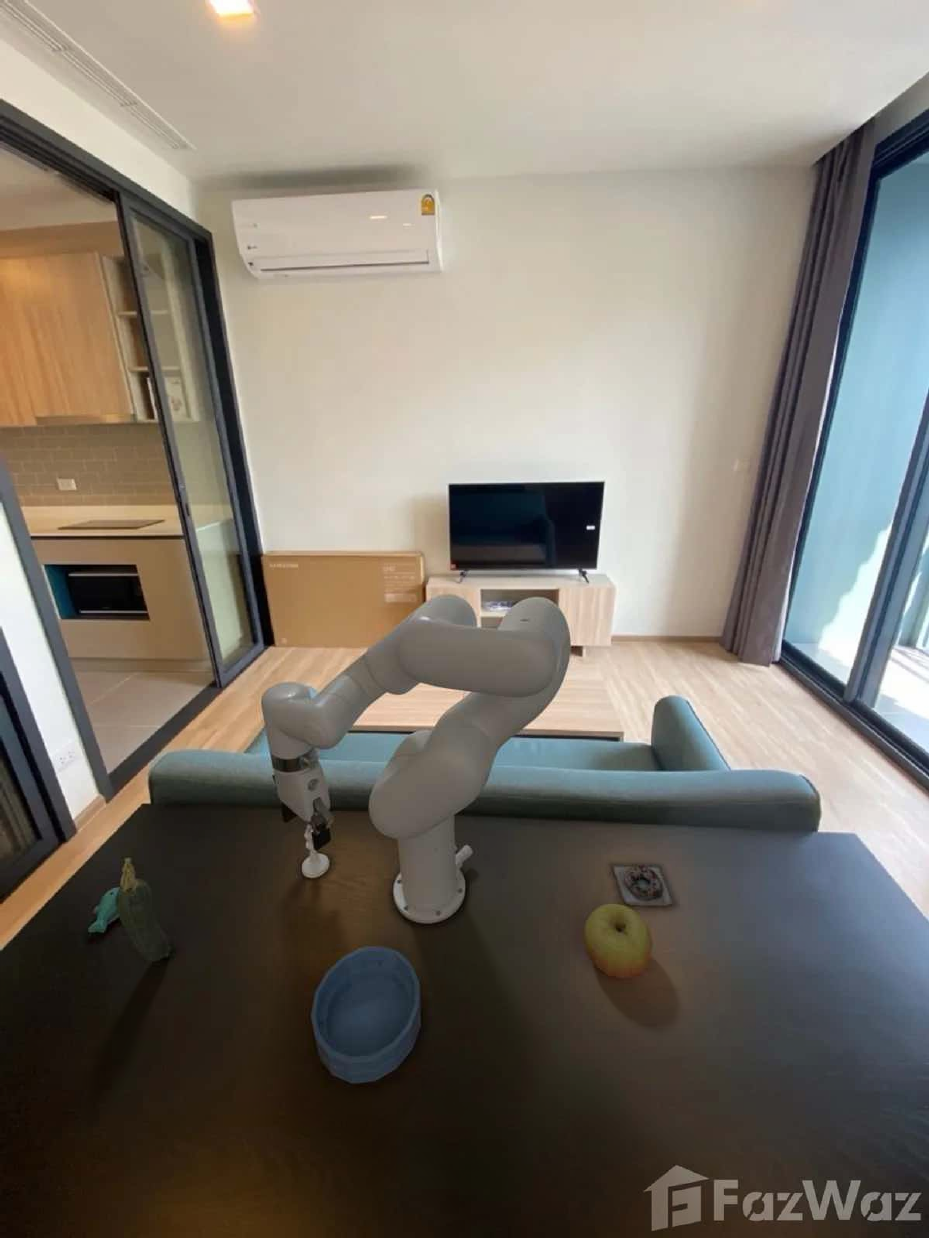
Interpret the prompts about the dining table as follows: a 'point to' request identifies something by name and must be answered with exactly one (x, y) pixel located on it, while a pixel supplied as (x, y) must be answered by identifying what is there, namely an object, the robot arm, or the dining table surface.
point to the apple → (618, 941)
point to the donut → (642, 886)
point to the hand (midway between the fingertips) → (306, 831)
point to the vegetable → (140, 915)
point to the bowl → (367, 1014)
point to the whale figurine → (105, 912)
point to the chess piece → (313, 858)
